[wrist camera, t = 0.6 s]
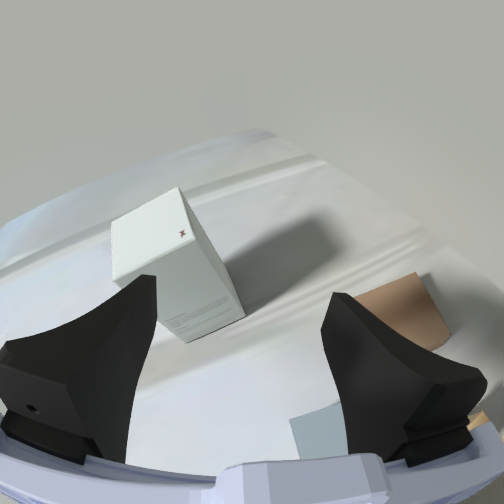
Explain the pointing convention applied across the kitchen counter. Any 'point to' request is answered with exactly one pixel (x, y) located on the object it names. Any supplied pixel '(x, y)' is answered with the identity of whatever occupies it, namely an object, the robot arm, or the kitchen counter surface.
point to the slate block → (320, 433)
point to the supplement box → (175, 266)
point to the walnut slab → (408, 311)
